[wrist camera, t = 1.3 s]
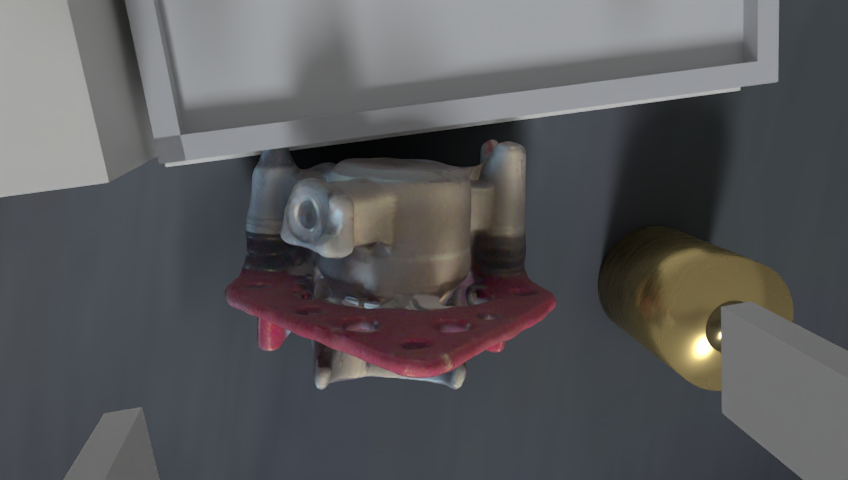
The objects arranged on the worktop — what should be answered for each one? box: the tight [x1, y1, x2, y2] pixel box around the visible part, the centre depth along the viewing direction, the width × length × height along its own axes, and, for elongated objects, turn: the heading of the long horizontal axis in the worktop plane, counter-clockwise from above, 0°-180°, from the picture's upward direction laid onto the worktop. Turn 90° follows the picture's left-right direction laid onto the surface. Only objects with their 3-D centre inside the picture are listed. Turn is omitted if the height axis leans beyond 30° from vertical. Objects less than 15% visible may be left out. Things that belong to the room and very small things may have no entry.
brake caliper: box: [225, 140, 556, 389], centre depth 25 cm, size 11×11×12 cm
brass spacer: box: [598, 225, 793, 391], centre depth 28 cm, size 5×5×6 cm
